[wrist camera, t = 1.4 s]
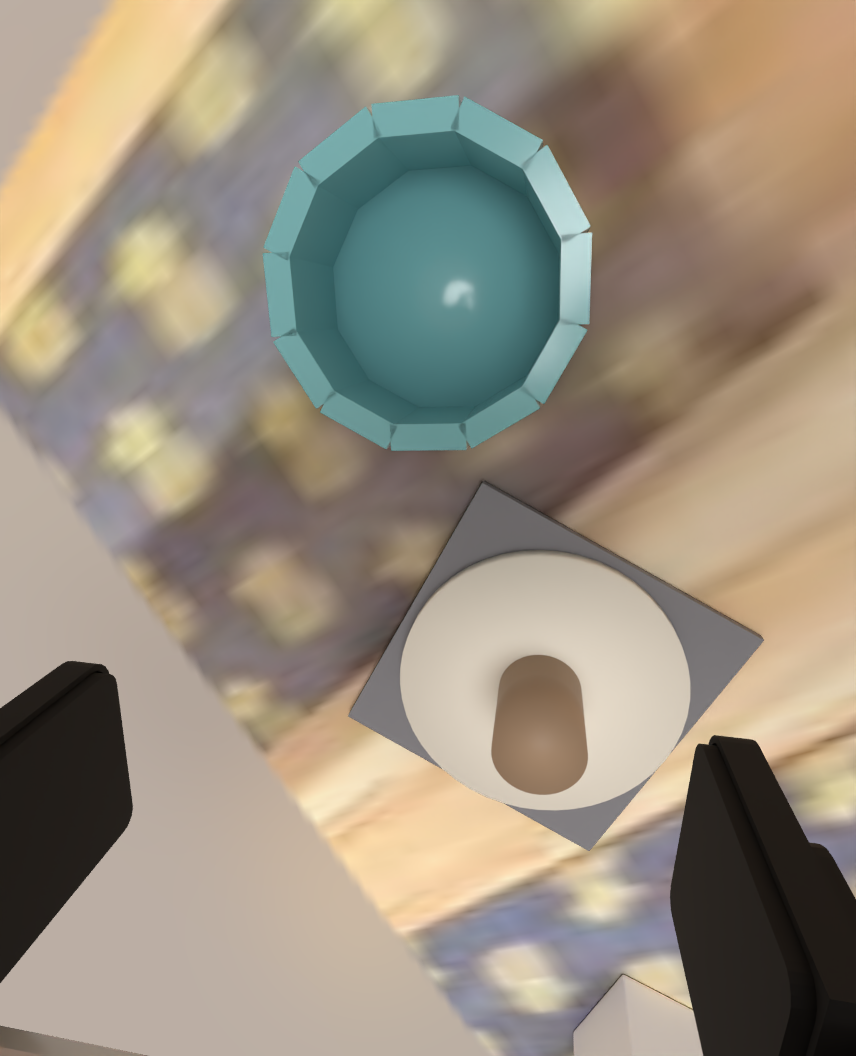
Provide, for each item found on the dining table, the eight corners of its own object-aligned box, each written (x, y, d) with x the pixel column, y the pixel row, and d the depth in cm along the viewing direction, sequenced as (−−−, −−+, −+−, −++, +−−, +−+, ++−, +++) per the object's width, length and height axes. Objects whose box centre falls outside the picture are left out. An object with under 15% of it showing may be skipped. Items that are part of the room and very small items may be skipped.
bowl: (636, 229, 27) (660, 205, 21) (496, 470, 31) (485, 504, 25) (388, 91, 27) (346, 31, 21) (280, 350, 31) (221, 357, 25)
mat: (760, 635, 31) (764, 640, 31) (588, 844, 36) (589, 851, 36) (483, 480, 31) (482, 482, 31) (350, 711, 36) (347, 716, 36)
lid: (747, 642, 31) (793, 715, 25) (586, 840, 36) (594, 938, 30) (486, 497, 31) (473, 536, 25) (360, 713, 36) (325, 788, 30)
